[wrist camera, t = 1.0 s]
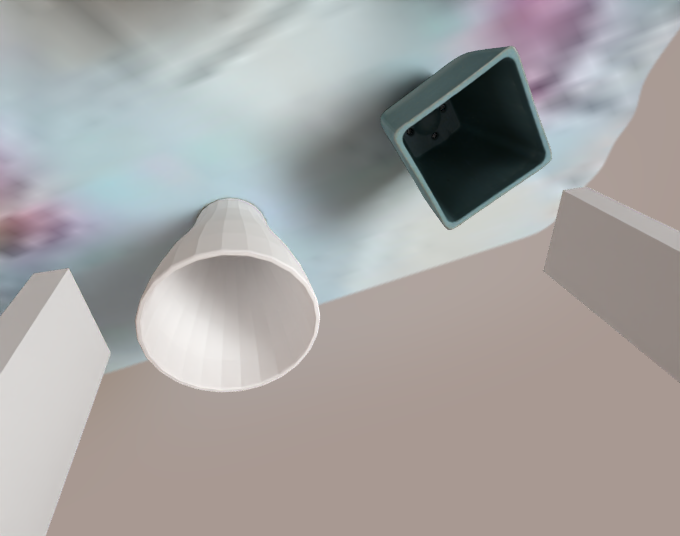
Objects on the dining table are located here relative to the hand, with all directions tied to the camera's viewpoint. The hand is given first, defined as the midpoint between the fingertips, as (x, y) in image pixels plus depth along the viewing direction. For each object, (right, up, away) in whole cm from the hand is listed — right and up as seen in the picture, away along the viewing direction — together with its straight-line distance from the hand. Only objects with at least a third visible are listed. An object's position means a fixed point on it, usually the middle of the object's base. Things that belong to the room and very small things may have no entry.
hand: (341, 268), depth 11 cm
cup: (-9, +3, +24) cm, 26 cm away
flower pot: (+7, +13, +23) cm, 27 cm away
